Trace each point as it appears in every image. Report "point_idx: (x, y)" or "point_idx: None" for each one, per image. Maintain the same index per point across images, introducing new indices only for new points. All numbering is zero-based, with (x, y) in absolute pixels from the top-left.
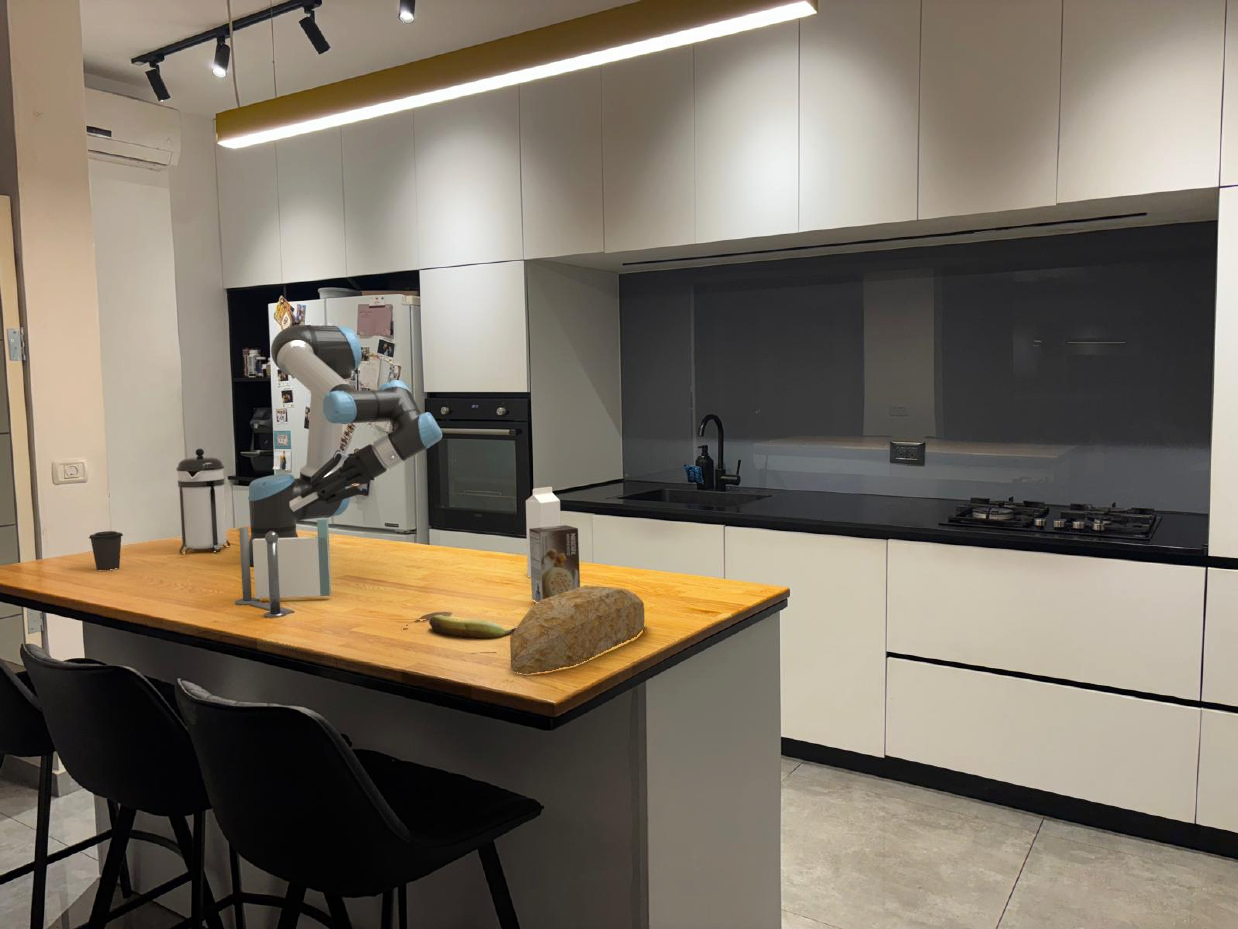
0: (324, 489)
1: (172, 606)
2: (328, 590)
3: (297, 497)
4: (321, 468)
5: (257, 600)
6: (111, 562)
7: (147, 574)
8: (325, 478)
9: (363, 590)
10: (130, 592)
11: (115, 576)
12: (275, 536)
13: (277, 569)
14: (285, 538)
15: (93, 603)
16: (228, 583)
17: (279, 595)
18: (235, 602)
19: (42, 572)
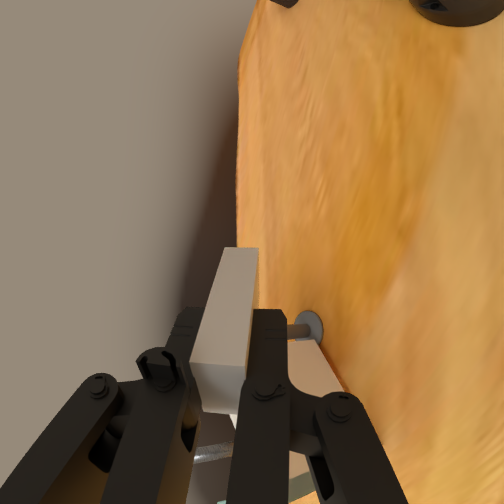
0: (235, 440)
1: (259, 257)
2: None
3: (217, 277)
4: (32, 465)
5: None
6: (285, 1)
7: (307, 29)
8: (123, 488)
9: (463, 458)
10: (267, 130)
11: (286, 33)
12: None
13: (228, 456)
14: (235, 415)
15: (236, 172)
16: (355, 138)
17: None
18: (294, 323)
19: (263, 8)
